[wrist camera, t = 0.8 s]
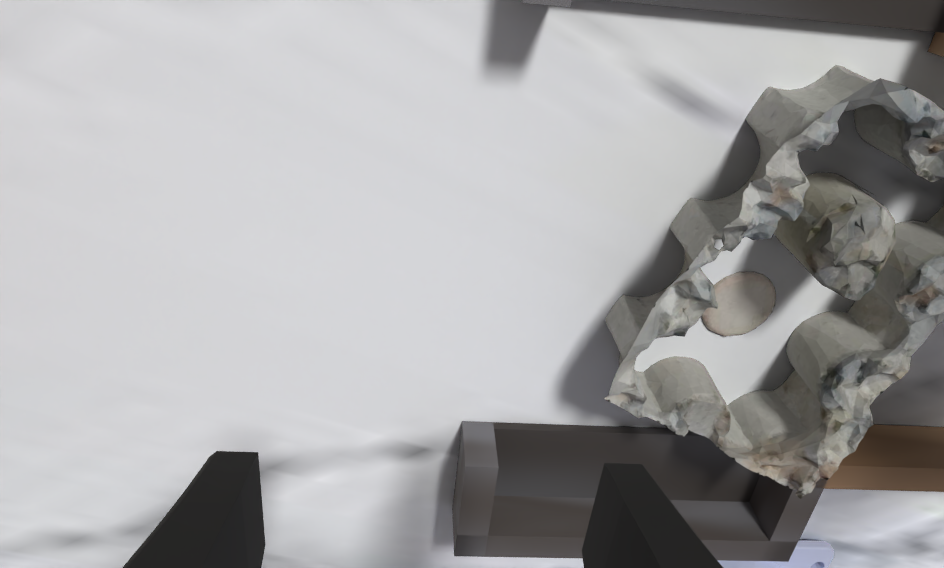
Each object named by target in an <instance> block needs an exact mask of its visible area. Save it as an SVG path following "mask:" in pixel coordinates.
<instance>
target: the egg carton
mask: <svg viewBox="0 0 944 568" xmlns="http://www.w3.org/2000/svg"><path fill="white" fill-rule="evenodd" d="M854 109H855V113H854V114H855V115H854V118H855V126H856V130H857V132H858V133H859V135H860V136H861V138H862V139H863V140H864V141H866V142H867V143H869V144H871V145H872V146H874V147H876V148H877V149H879V150H880V151H882V152H884V153H885V154H887V155H889V156H891V157H893V158H894V159H896V160H898V161H899V162H901V163H902V164H904V165H905V166H906V167H908V168H909V169H910V170H912V171H913V172H914V173H915V174H917V175H918V176H920V177H922V178H924V179H926V180H928V181H930V182H935V181H938V180H940V179H944V111H943V110H942V109H941V108H939V107H938V106H937V105H936V104H935V103H934V102H933V101H931V100H929V99H928V98H926V97H924V96H923V95H921V94H919V93H917V92H916V91H914V90H912V89H909V88H907V87H905V86H903V85H901V84H897V83H894V82H891V81H887V80H884V79H881V78H880V79H878V80H876V81H872V80H869V79H867V78H865V77H863V76H861V75H858V74H856V73H854V72H851V71H850V70H848V69H846V68H845V67H842V66H838V65H836V66H834V67H833V68H832V69H831V70H830V71H829V72H828V73H826V74H825V75H824V76H823V77H821V78H820V79H818V80H817V81H816V82H814V83H812V84H810V85H808V86H806V87H804V88H800V89H793V90H784V89H777V88H773V87H768V88H767V89H766V90H765V91H764V92H763V94H762V95H761V96H760V98H759V99H758V101H757V102H756V103H755V105H754V106H753V108H752V109H751V111H750V112H749V114H748V116H747V117H746V121H747V123H748V124H749V126H750V127H751V128H752V129H753V130H754V132H755V134H756V136H757V139H758V142H759V145H760V159H759V162H758V166H757V168H756V170H755V172H754V173H753V175H752V176H751V178H750V179H749V180H748V181H747V182H746V183H745V184H744V185H743V186H742V187H741V188H740V189H739V190H738V191H737V192H735V193H733V194H731V195H729V196H727V197H724V198H721V199H716V200H700V199H695V198H691V199H689V200H688V201H687V202H686V203H685V205H684V206H683V207H682V209H681V210H680V212H679V213H678V215H677V216H676V217H675V219H674V220H673V222H672V224H671V226H670V229H671V230H672V232H673V233H674V235H675V236H676V238H677V239H678V240H679V242H680V243H681V244H682V246H683V248H684V250H685V261H684V264H683V267H682V270H681V273H680V274H679V276H678V277H677V279H676V280H675V281H674V282H673V283H672V284H671V285H669V286H668V287H667V288H665V289H664V290H662V291H660V292H658V293H656V294H654V295H650V296H645V297H632V296H627V295H622V296H621V297H620V298H619V299H618V300H617V302H616V303H615V304H614V306H613V307H612V309H611V310H610V312H609V313H608V315H607V317H606V324H607V327H608V328H609V330H610V332H611V333H612V335H613V338H614V341H615V343H616V345H617V347H618V349H619V351H620V357H619V368H618V370H617V372H616V374H615V377H614V379H613V382H612V385H611V388H610V391H609V394H608V396H607V397H605V398H604V399H605V400H607V401H609V402H611V403H613V404H615V405H617V406H619V407H621V408H622V409H624V410H626V411H627V412H629V413H631V414H632V415H634V416H636V417H637V418H642V417H644V416H645V417H648V418H650V419H652V420H655V421H657V422H659V423H661V424H662V425H664V426H666V427H667V428H669V429H670V430H671V431H673V432H674V433H676V434H677V435H680V436H683V437H684V436H685V435H686V434H687V433H688V430H689V431H691V432H694V433H697V434H699V435H702V436H705V437H707V438H708V439H710V440H711V441H712V442H713V443H714V444H715V445H716V446H717V447H718V448H719V449H721V450H722V451H723V452H724V453H726V454H727V455H728V456H729V457H731V458H732V459H733V460H735V461H736V462H737V463H739V464H741V465H742V466H744V467H746V468H747V469H749V470H751V471H753V472H756V473H758V474H761V475H763V476H767V477H769V478H771V479H773V480H774V481H776V482H778V483H780V484H782V485H784V486H786V487H788V488H790V489H793V490H795V489H797V490H798V491H797V492H796V493H795V495H796V496H797V497H798V498H800V499H802V498H803V497H804V496H805V495H806V494H808V493H811V492H812V491H813V489H814V487H815V485H816V482H817V481H818V480H819V479H820V478H821V479H826V480H828V479H830V477H831V476H832V475H833V474H834V473H835V472H836V471H837V470H838V468H839V465H840V463H841V461H842V460H843V458H845V457H846V456H848V455H849V454H851V453H853V452H855V451H856V449H857V446H858V444H859V443H860V441H861V440H862V439H863V437H864V435H865V434H866V432H867V430H868V428H870V427H871V426H872V425H874V424H873V419H872V414H871V411H870V405H871V404H872V402H873V401H874V400H875V398H876V397H877V396H878V395H880V394H881V393H882V392H883V391H885V390H886V389H887V388H888V387H889V386H890V385H892V384H893V383H895V382H897V381H898V380H900V379H901V378H902V377H903V376H904V375H905V374H906V373H907V372H908V371H909V369H910V361H911V357H912V355H913V354H914V353H915V352H916V351H917V350H918V349H919V347H920V346H921V345H922V344H923V343H924V342H925V341H926V340H927V338H928V337H929V336H930V334H931V333H932V331H933V330H934V329H935V327H936V326H937V325H938V324H940V323H941V322H942V321H944V205H943V206H942V207H941V209H940V210H939V211H938V212H937V213H936V214H935V215H934V216H933V217H932V218H931V219H930V220H929V221H927V222H921V221H913V220H911V221H905V222H900V223H897V224H895V220H894V218H893V217H892V215H891V214H890V212H889V211H888V209H887V208H886V207H884V206H883V205H882V204H880V203H879V202H877V201H876V200H875V199H873V198H872V197H871V196H869V195H868V194H866V193H865V192H864V191H862V190H861V189H859V188H858V187H860V186H858V185H856V184H854V183H853V182H851V181H849V180H847V179H846V178H844V177H842V176H840V175H837V174H834V173H825V172H823V173H814V174H811V175H807V176H805V174H804V173H803V171H802V170H801V168H800V165H799V159H798V155H799V153H800V152H802V151H804V150H806V149H808V150H812V151H816V152H817V151H818V150H819V148H820V147H821V146H825V145H831V143H832V142H833V141H834V140H835V138H836V137H837V135H838V133H839V129H838V123H837V122H838V120H839V118H840V116H841V115H842V113H843V112H844V111H850V110H854ZM852 183H853V184H852ZM855 185H856V186H858V187H856V186H855ZM860 188H861V187H860ZM862 189H863V188H862ZM864 190H865V189H864ZM866 191H867V190H866ZM869 193H870V192H869ZM871 194H872V193H871ZM873 195H874V194H873ZM773 234H774V235H775V236H776V237H777V238H778V240H779V241H780V242H781V243H782V244H783V245H784V246H785V247H786V248H787V249H788V250H789V251H790V252H791V253H792V254H793V255H794V257H795V258H796V259H797V260H798V261H799V262H800V263H801V264H802V265H803V266H804V267H805V268H806V269H807V270H808V271H809V272H810V273H811V274H812V275H813V276H814V277H815V278H816V279H817V280H818V281H819V282H820V283H821V284H822V285H823V286H825V287H827V288H829V289H831V290H833V291H835V292H837V293H838V294H840V295H841V296H843V297H844V298H848V299H851V300H856V301H855V302H854V304H853V305H852V307H851V308H850V309H849V311H848V312H846V313H845V312H841V311H828V312H824V313H821V314H818V315H815V316H813V317H811V318H809V319H807V320H805V321H803V322H802V323H801V324H800V325H799V326H798V327H797V328H796V329H795V330H794V332H793V333H792V335H791V336H790V339H789V341H788V343H787V349H786V353H787V356H788V359H789V361H790V363H791V365H792V366H793V367H794V369H795V370H794V371H793V372H792V374H791V375H790V376H789V377H788V379H787V380H786V381H785V382H784V383H783V384H782V385H781V386H779V387H778V388H777V389H775V390H773V391H768V390H759V391H754V392H750V393H747V394H745V395H743V396H741V397H739V398H738V399H736V400H734V401H733V402H731V403H730V404H729V405H726V403H725V401H724V399H723V397H722V396H721V394H720V393H719V391H718V389H717V387H716V386H715V384H714V382H713V380H712V378H711V376H710V375H709V373H708V371H707V369H706V368H705V366H704V365H703V364H702V363H700V362H699V361H697V360H695V359H693V358H688V357H677V356H674V357H669V358H666V359H663V360H660V361H658V362H657V363H655V364H653V365H652V366H650V367H649V368H648V369H647V370H646V371H644V372H639V371H636V370H634V364H635V360H636V357H637V356H638V355H639V354H640V352H641V351H643V350H645V349H647V348H648V347H649V346H650V344H651V343H652V341H653V340H654V339H656V338H660V337H669V336H674V335H675V336H685V335H686V332H687V330H688V329H689V328H690V327H692V326H693V325H694V324H695V323H696V322H697V321H698V319H699V318H700V317H701V315H702V319H703V322H704V324H705V326H706V327H707V328H708V329H709V330H711V331H712V332H714V333H716V334H719V335H722V336H725V337H726V336H730V335H731V336H733V335H742V334H745V333H748V332H750V331H752V330H754V329H755V328H757V327H758V326H759V325H760V324H762V323H763V322H764V321H765V320H766V319H767V318H768V316H769V315H770V314H771V313H772V308H773V307H774V306H775V298H776V293H775V288H774V286H773V284H772V282H771V281H770V280H769V279H768V278H767V277H766V276H764V275H763V274H759V273H755V272H739V273H735V274H733V275H730V276H727V277H725V278H723V279H722V280H720V281H719V282H718V283H716V284H715V285H713V284H712V283H711V282H710V280H709V279H708V278H707V277H706V276H705V274H704V273H703V272H702V270H701V269H700V267H702V266H703V265H705V264H707V263H709V262H712V261H714V260H715V259H716V257H717V256H718V255H719V253H720V252H721V251H725V250H728V251H731V252H732V250H733V249H734V248H735V247H736V246H737V245H738V244H739V243H740V242H741V239H742V238H744V237H748V238H750V239H752V240H759V239H769V238H771V237H772V235H773ZM716 239H722V242H723V245H724V246H723V247H722V248H721V249H720V250H718V249H716V248H714V244H715V240H716Z"/></svg>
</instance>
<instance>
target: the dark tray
mask: <svg viewBox="0 0 944 568" xmlns="http://www.w3.org/2000/svg"><path fill="white" fill-rule="evenodd" d="M521 1H522V2H523V3H529V4H540V5H551V6H561V7H571V1H572V0H521ZM608 1H618V2H629V3H639V4H649V5H660V6H670V7H681V8H691V9H701V10H712V11H722V12H733V13H743V14H753V15H764V16H774V17H785V18H795V19H805V20H816V21H826V22H837V23H847V24H857V25H868V26H878V27H889V28H899V29H909V30H920V31H930V32H935V34H934V37H933V39H932V42H931V44H930V47H929V49H928V51H927V52H930V53H933V54H936V55H939V56H942V57H944V0H608ZM604 463H623V464H642V465H643V466H644V467H645V468H646V470H647V471H648V472H649V473H650V475H651V476H652V477H653V479H654V480H655V481H656V483H657V484H658V485H659V487H660V488H661V489H662V490H663V492H664V493H665V494H666V496H667V497H668V498H669V500H670V501H671V502H672V504H673V505H674V506H675V508H676V509H677V510H678V511H679V513H680V514H681V515H682V517H683V518H684V519H685V520H686V522H687V523H688V524H689V526H690V527H691V528H692V529H693V531H694V532H695V533H696V535H697V536H698V537H699V538H700V540H701V541H702V542H703V543H704V545H705V546H706V547H707V548H708V550H709V551H710V552H711V553H712V555H713V556H714V557H715V558H716V559H717V560H720V561H780V562H789V559H790V557H791V555H792V553H793V551H794V549H795V547H796V545H797V543H798V541H799V539H800V537H801V535H802V533H803V530H804V528H805V526H806V524H807V522H808V520H809V518H810V516H811V514H812V512H813V510H814V508H815V506H816V504H817V502H818V499H819V497H820V495H821V493H822V491H823V489H824V488H825V489H862V490H898V491H935V492H944V427H925V426H898V425H872V426H871V427H870V428H868V430H867V432H866V434H865V435H864V437H863V439H862V440H861V441H860V443H859V444H858V446H857V449H856V451H855V452H853V453H851V454H849V455H848V456H846V457H845V458H843V460H842V461H841V463H840V465H839V468H838V470H837V471H836V472H835V473H834V474H833V475H832V476H831V477H830V479H828V480H826V479H821V478H820V479H819V480H818V481H817V482H816V485H815V487H814V489H813V491H812V492H811V493H808V494H806V495H805V496H804V497H803V498H802V499H800V498H798V497H797V496H796V495H795V493H796V492H797V491H798V490H797V489H795V490H793V489H790V488H788V487H786V486H784V485H782V484H780V483H778V482H776V481H774V480H773V479H771V478H769V477H767V476H763V475H761V474H758V473H756V472H753V471H751V470H749V469H747V468H746V467H744V466H742V465H741V464H739V463H737V462H736V461H735V460H733V459H732V458H731V457H729V456H728V455H727V454H726V453H724V452H723V451H722V450H721V449H719V448H718V447H717V446H716V445H715V444H714V443H713V442H712V441H711V440H710V439H708V438H707V437H705V436H702V435H699V434H697V433H694V432H691V431H689V430H688V433H687V434H686V435H685V436H684V437H683V436H680V435H677V434H676V433H674V432H673V431H671V430H670V429H664V428H636V427H607V426H579V425H551V424H522V423H494V422H466V421H462V430H461V439H460V447H459V456H458V464H457V473H456V482H455V490H454V499H453V508H452V510H453V535H454V556H478V557H538V558H583V556H582V547H583V544H584V540H585V536H586V532H587V528H588V524H589V520H590V516H591V513H592V509H593V505H594V501H595V497H596V493H597V489H598V485H599V482H600V478H601V474H602V470H603V466H604Z"/></svg>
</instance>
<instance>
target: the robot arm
mask: <svg viewBox="0 0 944 568" xmlns="http://www.w3.org/2000/svg"><path fill="white" fill-rule="evenodd" d="M264 549H265V536H264V523H263V510H262V497H261V484H260V471H259V458H258V452H225V451H216V452H215V453H214V454H213V455H211V456H210V457H209V458H208V460H207V461H206V463H205V464H204V465H203V467H202V468H201V470H200V471H199V472H198V474H197V475H196V476H195V478H194V479H193V480H192V482H191V483H190V485H189V486H188V487H187V489H186V490H185V491H184V493H183V494H182V495H181V496H180V498H179V499H178V500H177V502H176V503H175V504H174V506H173V507H172V508H171V509H170V511H169V512H168V513H167V514H166V516H165V517H164V518H163V520H162V521H161V522H160V523H159V525H158V526H157V527H156V528H155V530H154V531H153V532H152V533H151V534H150V536H149V537H148V538H147V539H146V540H145V541H144V543H143V544H142V545H141V546H140V547H139V549H138V550H137V551H136V552H135V553H134V555H133V556H132V557H131V558H130V559H129V561H128V562H127V563H126V564H125V565H124V567H123V568H261V565H262V560H263V554H264ZM834 555H835V552H834V550H833V548H832V547H831V545H830V544H829V543H828V542H826V541H811V540H799V541H798V543H797V545H796V547H795V549H794V551H793V553H792V555H791V557H790V559H789V562H780V561H720V560H717V559H716V558H715V557H714V556H713V555H712V553H711V552H710V551H709V550H708V548H707V547H706V546H705V545H704V543H703V542H702V541H701V540H700V538H699V537H698V536H697V535H696V533H695V532H694V531H693V529H692V528H691V527H690V526H689V524H688V523H687V522H686V520H685V519H684V518H683V517H682V515H681V514H680V513H679V511H678V510H677V509H676V508H675V506H674V505H673V504H672V502H671V501H670V500H669V498H668V497H667V496H666V494H665V493H664V492H663V490H662V489H661V488H660V487H659V485H658V484H657V483H656V481H655V480H654V479H653V477H652V476H651V475H650V473H649V472H648V471H647V470H646V468H645V467H644V466H643V465H642V464H623V463H604V466H603V470H602V474H601V478H600V482H599V485H598V489H597V493H596V497H595V501H594V505H593V509H592V513H591V516H590V520H589V524H588V528H587V532H586V536H585V540H584V544H583V547H582V556H583V563H584V568H828V567H829V565H830V563H831V562H832V560H833V558H834Z"/></svg>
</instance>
